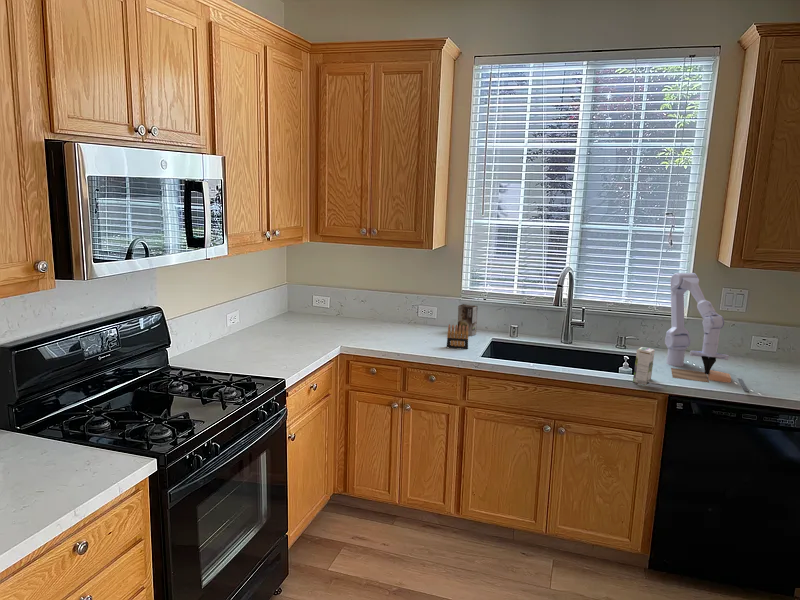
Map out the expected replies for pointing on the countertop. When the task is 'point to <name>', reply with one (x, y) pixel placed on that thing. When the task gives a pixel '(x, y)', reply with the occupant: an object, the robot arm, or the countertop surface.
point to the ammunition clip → (457, 337)
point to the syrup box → (643, 365)
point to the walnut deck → (689, 375)
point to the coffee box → (467, 318)
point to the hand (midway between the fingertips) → (706, 373)
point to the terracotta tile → (719, 376)
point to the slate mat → (743, 385)
